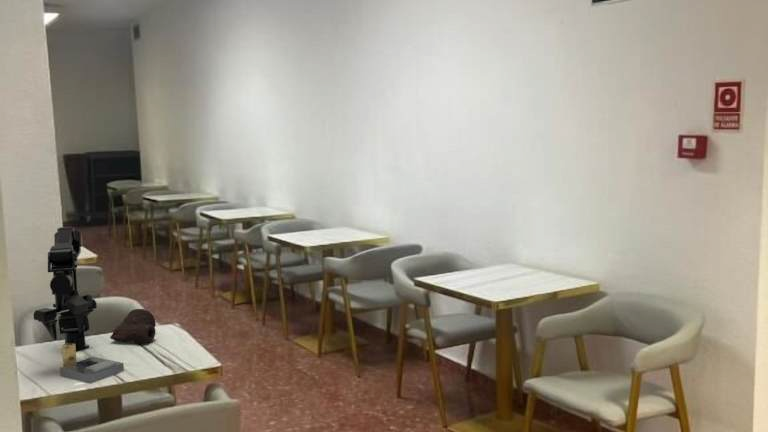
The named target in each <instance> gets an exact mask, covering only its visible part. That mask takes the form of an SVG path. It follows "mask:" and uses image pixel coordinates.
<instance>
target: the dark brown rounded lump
mask: <svg viewBox="0 0 768 432" xmlns="http://www.w3.org/2000/svg"><path fill="white" fill-rule="evenodd" d="M155 327H156V318H155V316H154V315H153V314H152V313H151V312H150V311H149V310H146V309H144V308H135V309H133V310H131V311H130V312H128V314H127V315H126V316H125V317H124V320H123V321H122V322H121V323H120V324H119V325H117V326H116V327H115V328H114V330H113V332H112V334H111V335H110V339H111V340H113V341H115V342H121V343H128V342H131V343H134V344H140V345H147V344H150V343H152V342H153V341H154V339H155V337H156V328H155Z"/></svg>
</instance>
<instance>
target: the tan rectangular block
mask: <svg viewBox="0 0 768 432" xmlns="http://www.w3.org/2000/svg"><path fill="white" fill-rule="evenodd" d="M61 348H62V349H61V354H62V355H61V356H62V367H64V366H67V365H70V364H73V363H76V362H78V361H77V351H76V346H75V343H68V344H65V343H64V344H61Z"/></svg>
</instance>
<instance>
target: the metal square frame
mask: <svg viewBox="0 0 768 432" xmlns="http://www.w3.org/2000/svg"><path fill="white" fill-rule="evenodd" d="M124 366H125V365H124V362H121V361H114V360H109V359H106V358H101V357H97V356H92V357H87V358H85V359H82V360H79V361H77V362H76V363H73V364H70V365H67V366H64V367H63V366H61V367H59V372H60V373H59V374H60V377H64V378H69V379H72V380H77V381H79V382H80V381H81V382H84V383H89V384H92V383H95V382H97V381H101V380H103V379H106V378H109V377H111V376H114V375H116V374H119V373H123V372H124V371H125V369H124V368H125V367H124Z"/></svg>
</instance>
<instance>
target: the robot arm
mask: <svg viewBox="0 0 768 432" xmlns="http://www.w3.org/2000/svg"><path fill="white" fill-rule="evenodd" d="M82 236H83V235H82V232H80V231H78V230H76V229H75V227H72V226H65V227H58V228H57V232H55V233H54V241H53V242H54V245H52V246H51V247H50V250H49V251H48V252H47V273H53V275H52V276H53V277H52V279H51V280H50V284H49V288H50V290H51V295H54V300H55V303H53V304H52V307H53V308H49V307H44V308H40V309H36V310H34V312H33V320H35V321H38V322H39V323H40V322H41V324H42V325H43V326H44V327H45V328H46V330H47V331H48V334H49V335H50V336H51V338H52V340H53V341H57V322H58V327H59V334H60V335H62V334H64V344H68V343H75V346H76V352H78V351H82V350H85V349H88V348H90V346H89V345H86V337H85V332H87V331H90V321H89V316H88V315H90V314H91V313H93V312H94V310H95V309H97V307H98V306H97V304H98V303H97V301H96V300H95V299H94V298H93V296H92V295H91V294H85V295H81V296H80V295H79V286H78V285H79V284H78V258H79V256H80V254H81V252H82V250H81V249H82V247H83V237H82ZM58 315H59V316H58ZM57 317H58V319H56V318H57ZM61 350H62V347H61Z"/></svg>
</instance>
